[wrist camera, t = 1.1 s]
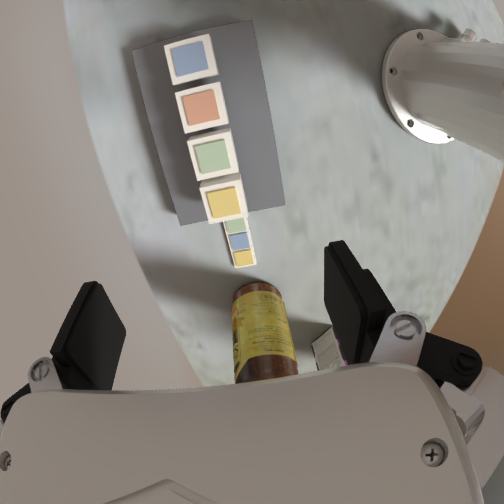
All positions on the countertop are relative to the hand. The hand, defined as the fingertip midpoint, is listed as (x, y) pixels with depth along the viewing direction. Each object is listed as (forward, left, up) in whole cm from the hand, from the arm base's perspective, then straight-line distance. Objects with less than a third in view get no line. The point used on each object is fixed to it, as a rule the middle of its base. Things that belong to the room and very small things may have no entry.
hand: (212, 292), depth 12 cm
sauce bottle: (+12, +12, -18) cm, 25 cm away
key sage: (-2, -2, -16) cm, 16 cm away
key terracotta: (-4, -4, -16) cm, 17 cm away
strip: (+6, +6, -18) cm, 19 cm away
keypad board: (-3, -3, -18) cm, 18 cm away
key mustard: (+1, +1, -16) cm, 16 cm away
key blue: (-7, -7, -16) cm, 19 cm away
